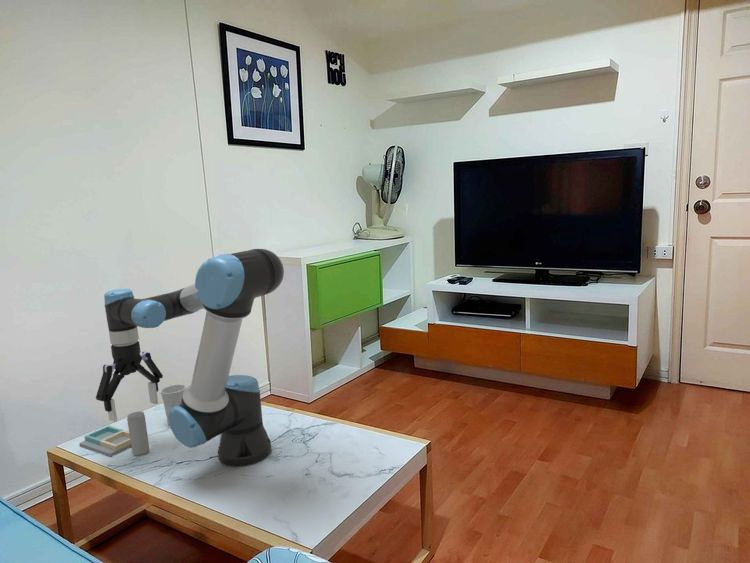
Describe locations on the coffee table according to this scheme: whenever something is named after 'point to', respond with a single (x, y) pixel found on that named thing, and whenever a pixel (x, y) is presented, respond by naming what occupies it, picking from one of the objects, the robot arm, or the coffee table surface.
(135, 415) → the beverage can
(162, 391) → the cup
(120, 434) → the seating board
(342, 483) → the coffee table surface
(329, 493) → the coffee table surface
